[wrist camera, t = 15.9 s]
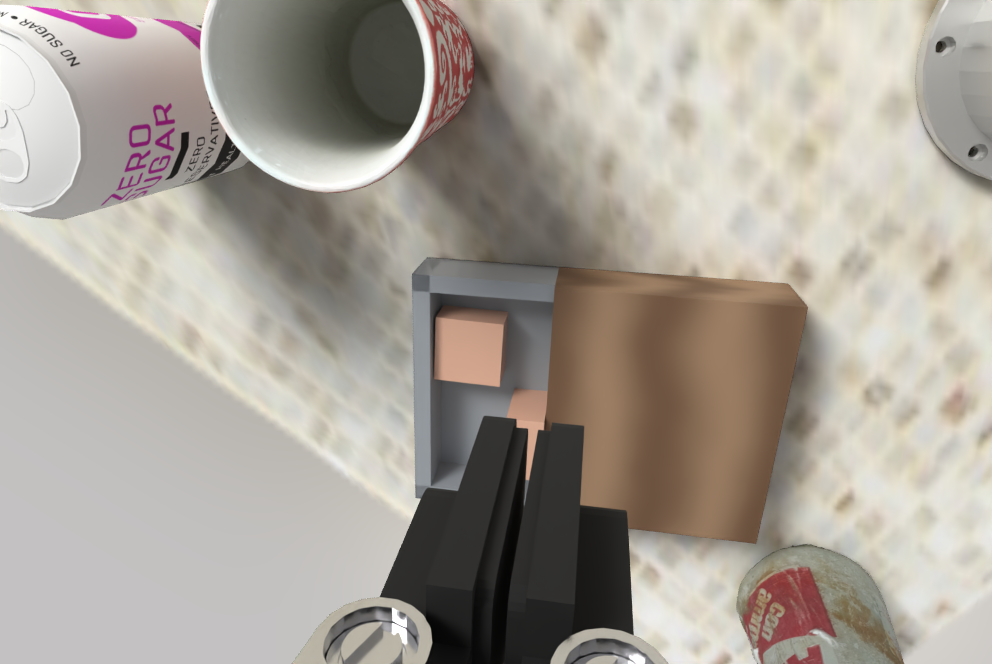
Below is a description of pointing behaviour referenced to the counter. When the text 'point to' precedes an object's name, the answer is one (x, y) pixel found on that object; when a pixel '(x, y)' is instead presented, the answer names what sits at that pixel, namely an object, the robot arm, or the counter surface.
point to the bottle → (815, 611)
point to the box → (461, 406)
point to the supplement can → (102, 111)
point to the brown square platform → (674, 394)
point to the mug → (333, 83)
